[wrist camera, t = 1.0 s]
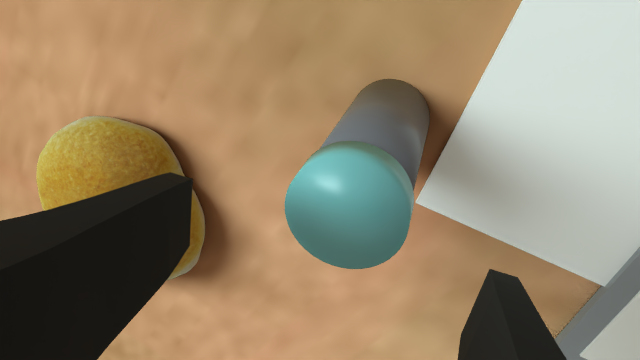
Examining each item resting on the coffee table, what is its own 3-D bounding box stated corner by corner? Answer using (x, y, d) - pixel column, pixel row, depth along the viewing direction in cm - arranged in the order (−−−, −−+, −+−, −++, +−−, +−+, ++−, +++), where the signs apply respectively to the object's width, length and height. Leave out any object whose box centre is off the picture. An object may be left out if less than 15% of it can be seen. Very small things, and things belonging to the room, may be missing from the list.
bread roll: (148, 86, 23) (89, 115, 19) (235, 244, 26) (198, 294, 22) (34, 139, 26) (-32, 171, 23) (123, 273, 29) (76, 320, 26)
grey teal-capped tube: (447, 97, 19) (431, 192, 12) (411, 168, 21) (379, 287, 14) (366, 62, 19) (306, 137, 12) (337, 136, 21) (271, 237, 14)
